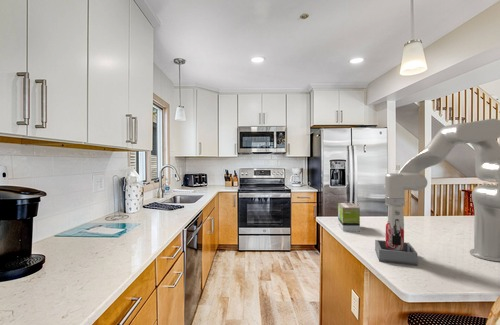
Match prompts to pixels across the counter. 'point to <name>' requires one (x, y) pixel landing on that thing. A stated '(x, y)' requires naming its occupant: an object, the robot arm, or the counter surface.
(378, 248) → the gray square tray
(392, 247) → the soda can
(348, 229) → the tea box
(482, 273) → the counter surface
